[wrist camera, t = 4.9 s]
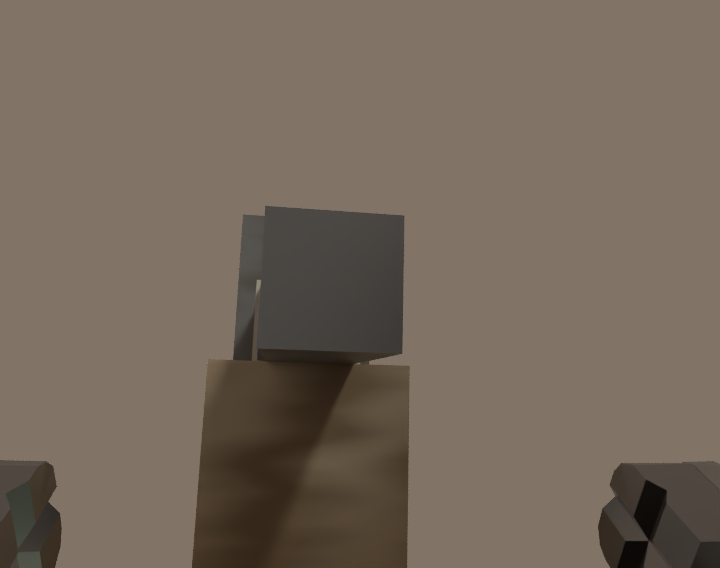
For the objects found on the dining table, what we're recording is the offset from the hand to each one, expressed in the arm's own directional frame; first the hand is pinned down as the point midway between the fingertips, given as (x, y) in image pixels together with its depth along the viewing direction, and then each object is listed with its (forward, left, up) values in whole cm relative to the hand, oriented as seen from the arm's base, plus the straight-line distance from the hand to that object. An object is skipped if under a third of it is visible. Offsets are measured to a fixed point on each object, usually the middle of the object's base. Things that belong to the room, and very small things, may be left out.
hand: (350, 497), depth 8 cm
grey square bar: (0, -11, +2) cm, 12 cm away
